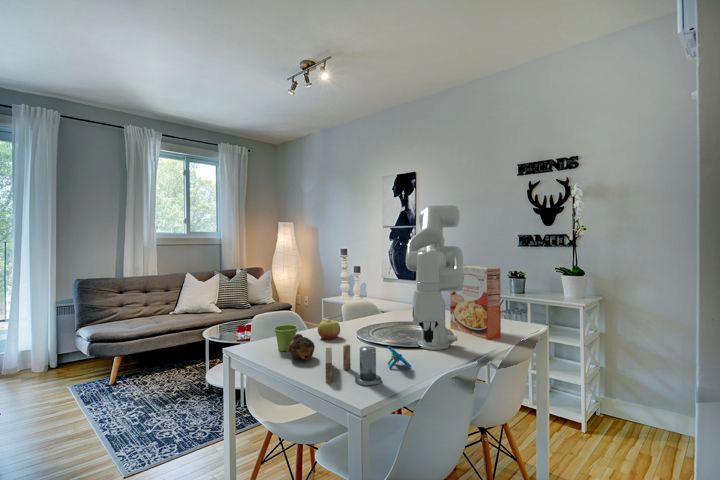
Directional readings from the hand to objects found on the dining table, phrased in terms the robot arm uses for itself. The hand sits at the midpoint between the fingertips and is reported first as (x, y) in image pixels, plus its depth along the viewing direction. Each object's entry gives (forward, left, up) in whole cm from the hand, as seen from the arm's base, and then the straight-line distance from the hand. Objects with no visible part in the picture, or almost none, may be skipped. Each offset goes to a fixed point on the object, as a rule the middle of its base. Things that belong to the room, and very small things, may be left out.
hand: (428, 341), depth 129 cm
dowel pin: (+28, -1, -9) cm, 29 cm away
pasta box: (-32, -42, -9) cm, 54 cm away
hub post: (+22, +10, -9) cm, 25 cm away
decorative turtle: (+44, -14, -9) cm, 47 cm away
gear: (+10, -1, -9) cm, 14 cm away
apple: (+34, -41, -9) cm, 54 cm away
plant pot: (+51, -26, -9) cm, 58 cm away
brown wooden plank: (+34, +2, -9) cm, 35 cm away
